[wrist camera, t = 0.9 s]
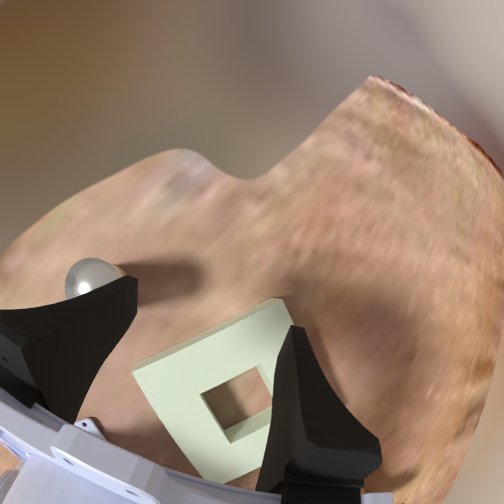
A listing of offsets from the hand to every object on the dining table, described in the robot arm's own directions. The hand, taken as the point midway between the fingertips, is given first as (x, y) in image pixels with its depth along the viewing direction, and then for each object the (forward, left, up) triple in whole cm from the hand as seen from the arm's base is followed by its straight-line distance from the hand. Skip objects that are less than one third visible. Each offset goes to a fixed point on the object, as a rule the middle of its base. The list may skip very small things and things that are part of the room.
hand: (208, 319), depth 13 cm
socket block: (0, -10, -14) cm, 17 cm away
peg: (-6, +4, -14) cm, 15 cm away
